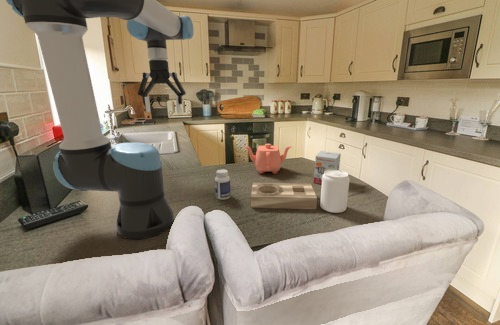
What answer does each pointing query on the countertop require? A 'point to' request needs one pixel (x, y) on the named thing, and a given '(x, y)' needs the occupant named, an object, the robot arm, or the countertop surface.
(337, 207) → the beverage can
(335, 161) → the ink box
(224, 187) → the pill bottle
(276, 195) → the socket block
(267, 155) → the teapot
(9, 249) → the countertop surface
